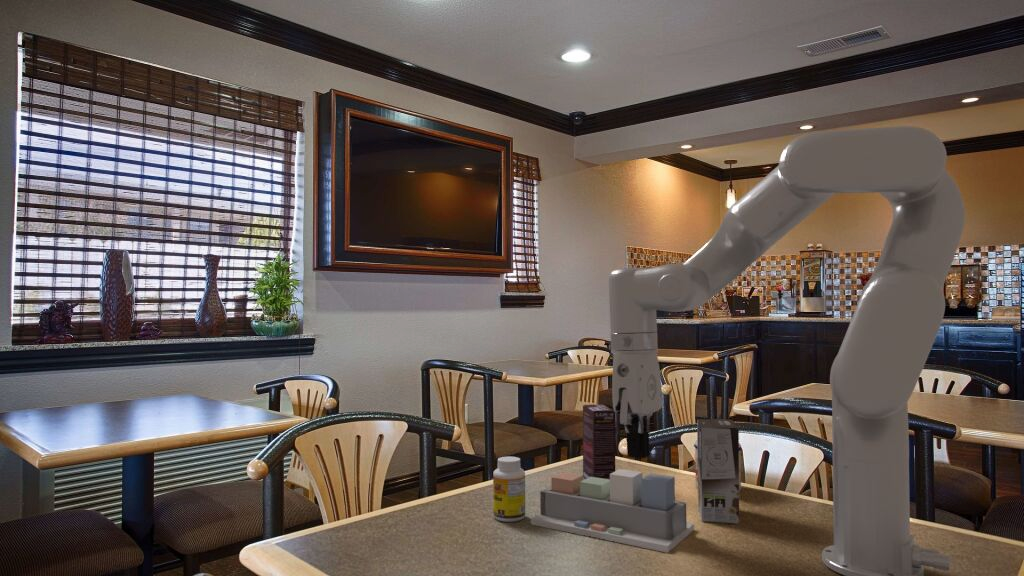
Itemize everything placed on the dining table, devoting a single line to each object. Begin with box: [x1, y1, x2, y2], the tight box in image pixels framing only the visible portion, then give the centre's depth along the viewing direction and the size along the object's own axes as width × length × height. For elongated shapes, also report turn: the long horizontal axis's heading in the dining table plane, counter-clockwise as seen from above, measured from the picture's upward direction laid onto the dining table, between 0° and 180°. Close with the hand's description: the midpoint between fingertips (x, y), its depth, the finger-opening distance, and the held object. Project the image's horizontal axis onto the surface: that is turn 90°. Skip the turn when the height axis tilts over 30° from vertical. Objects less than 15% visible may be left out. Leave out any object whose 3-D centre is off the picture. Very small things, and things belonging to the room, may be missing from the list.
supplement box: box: [582, 404, 616, 480], centre depth 138 cm, size 9×5×16 cm, turn 9°
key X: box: [610, 468, 643, 505], centre depth 111 cm, size 4×4×5 cm
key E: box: [580, 477, 610, 500], centre depth 114 cm, size 4×4×5 cm
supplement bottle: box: [492, 456, 526, 523], centre depth 118 cm, size 6×6×10 cm
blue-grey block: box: [641, 473, 676, 511], centre depth 108 cm, size 4×4×5 cm
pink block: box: [551, 471, 583, 495], centre depth 117 cm, size 4×4×5 cm
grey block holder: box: [530, 485, 695, 554], centre depth 113 cm, size 24×12×5 cm, turn 57°
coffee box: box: [696, 418, 740, 524], centre depth 119 cm, size 9×6×16 cm
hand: (638, 456), depth 110 cm, fingers closed
